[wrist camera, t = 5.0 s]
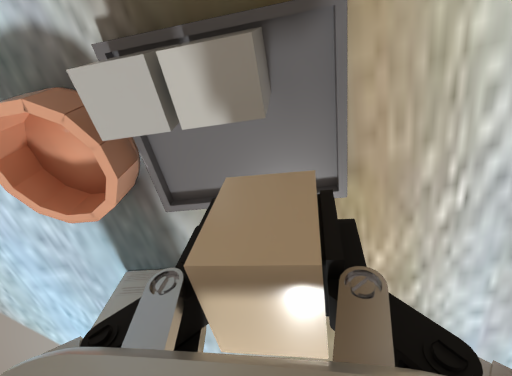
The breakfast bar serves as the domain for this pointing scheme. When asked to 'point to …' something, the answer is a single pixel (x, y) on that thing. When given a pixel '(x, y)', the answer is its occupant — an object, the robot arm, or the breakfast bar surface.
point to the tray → (278, 113)
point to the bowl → (62, 157)
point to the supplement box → (126, 292)
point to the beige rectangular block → (263, 267)
